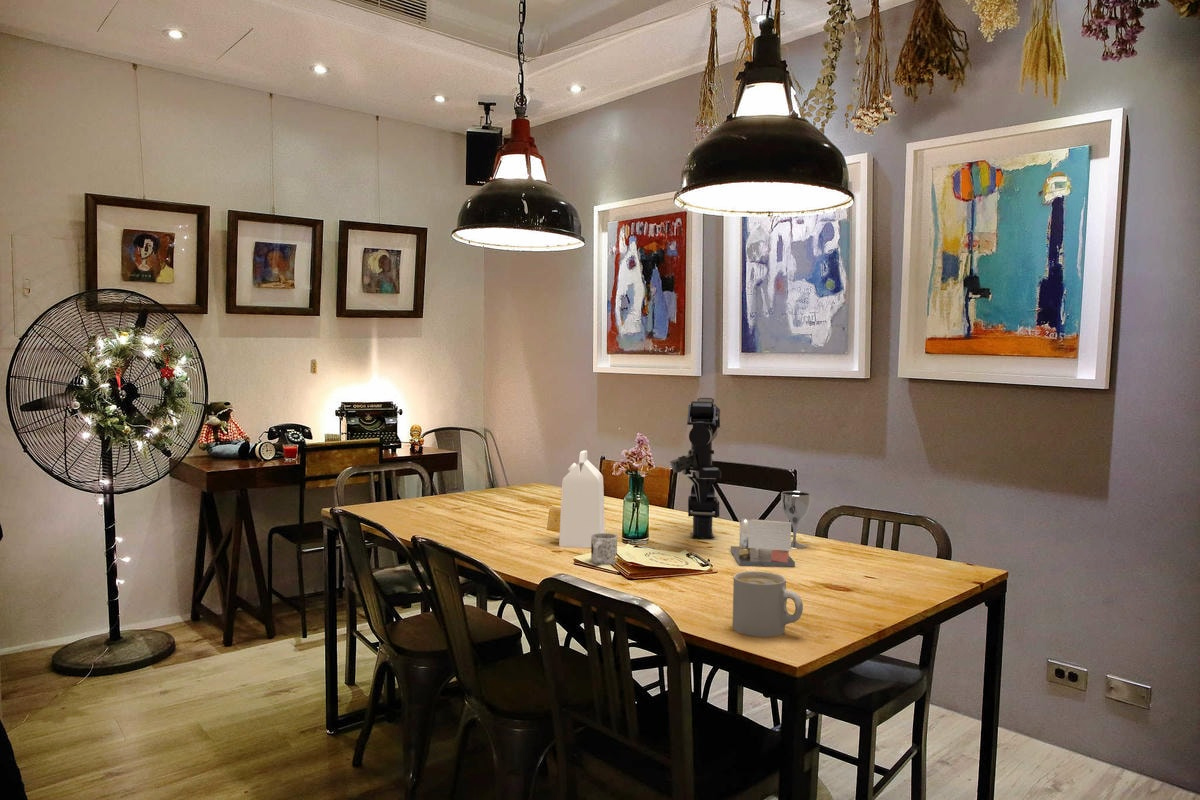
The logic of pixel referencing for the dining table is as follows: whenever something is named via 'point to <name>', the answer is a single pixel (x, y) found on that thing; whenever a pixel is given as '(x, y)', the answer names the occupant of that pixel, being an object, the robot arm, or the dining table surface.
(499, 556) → the dining table surface
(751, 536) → the swing bar
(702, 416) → the robot arm
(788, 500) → the wine glass
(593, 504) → the milk
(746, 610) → the coffee mug
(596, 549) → the mug
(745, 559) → the base
